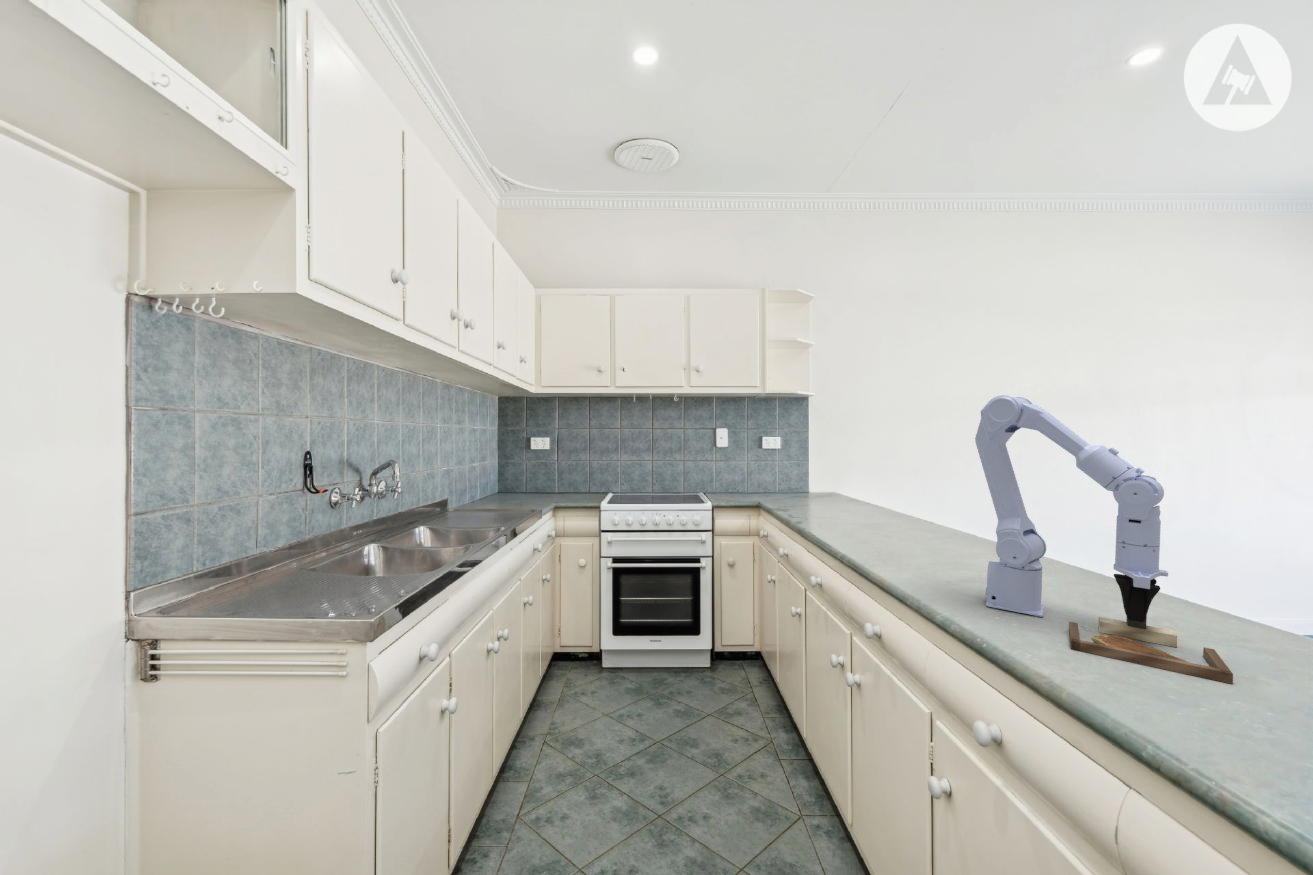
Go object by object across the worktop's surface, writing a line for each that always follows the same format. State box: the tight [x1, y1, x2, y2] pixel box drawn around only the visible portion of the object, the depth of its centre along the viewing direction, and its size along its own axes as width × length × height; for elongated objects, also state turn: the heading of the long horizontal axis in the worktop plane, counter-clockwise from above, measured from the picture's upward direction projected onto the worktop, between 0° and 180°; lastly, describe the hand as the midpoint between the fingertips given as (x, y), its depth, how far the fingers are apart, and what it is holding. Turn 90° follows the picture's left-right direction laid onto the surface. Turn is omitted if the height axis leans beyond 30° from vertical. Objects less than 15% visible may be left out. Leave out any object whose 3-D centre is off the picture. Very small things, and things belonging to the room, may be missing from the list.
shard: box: [1090, 634, 1188, 662], centre depth 83 cm, size 11×8×2 cm
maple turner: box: [1097, 614, 1178, 648], centre depth 91 cm, size 10×3×7 cm, turn 52°
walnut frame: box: [1068, 621, 1234, 685], centre depth 84 cm, size 18×11×2 cm, turn 52°
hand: (1134, 618), depth 91 cm, fingers closed on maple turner, 2 cm apart
